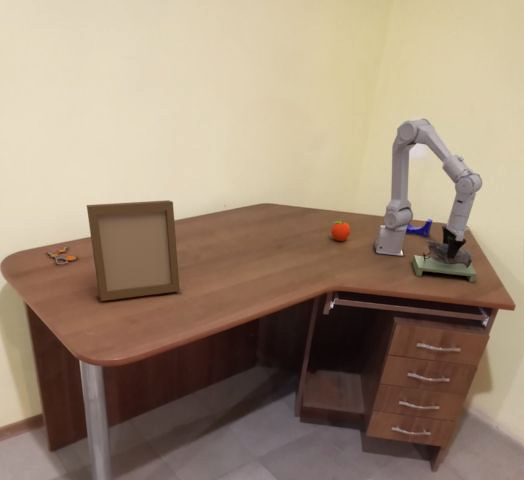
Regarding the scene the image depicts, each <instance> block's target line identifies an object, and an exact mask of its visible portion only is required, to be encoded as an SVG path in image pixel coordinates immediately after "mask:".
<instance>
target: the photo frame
mask: <svg viewBox="0 0 524 480" xmlns="http://www.w3.org/2000/svg"><path fill="white" fill-rule="evenodd" d="M86 210H87V219H88V224H89V232H90V239H91V247H92V254H93V255H92V256H93V261H94V269H95V276H96V283H97V291H98V297H99V299H100V301H101V302H102V301H103V302H104V301H111V300H112V301H113V300H119V299H127V298H135V297H142V296H152V295H159V294H165V293H166V294H167V293H174V292H180V290H181V288H180V278H179V277H180V275H179V263H178V250H177V238H176V237H177V236H176V225H175V212H174V202H173V201H172V200H166V199H165V200H152V201H151V200H150V201H134V202H119V203H118V202H117V203H116V202H114V203H99V204H86Z"/></svg>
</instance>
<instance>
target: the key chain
mask: <svg viewBox="0 0 524 480" xmlns="http://www.w3.org/2000/svg"><path fill="white" fill-rule="evenodd" d="M67 249H68V245H65V246H63V247H62V249H58V252H57V253H52V252H50V251H48V252H46V254H48V256H50V258H54V259H55V263H56V265H66V264H68V263H69V262H71V261H72V262H73V261H75V260H77V257H76V256H75V255H68V256H62V255H61V254H60V253H65V252H67ZM58 260H64V261H65V262H58Z"/></svg>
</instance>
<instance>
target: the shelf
mask: <svg viewBox="0 0 524 480" xmlns="http://www.w3.org/2000/svg"><path fill="white" fill-rule="evenodd" d="M428 257H429V256H425V258H428ZM425 260H426V262H425V261H424V256H422V255H415V254H414V255H413V260H412V262H411V264H412V267H413V270H414V273H415V276H417V277H422V275H423V272H430V273H439V274H447V275H457V276H466V278H467V280H468V283H469V282H470V283H475V280H476V278H477V274H478V273H477V272H476V270H475V269H474V267H473V265H472V263H471V264H470V266H469V267H468V268H467V267H466V265H464V264H460V263H459V264H454V265H449V264H444V263H441V262H438V261H436V260H433V259H432V257H430V258H428V259H425Z"/></svg>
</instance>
